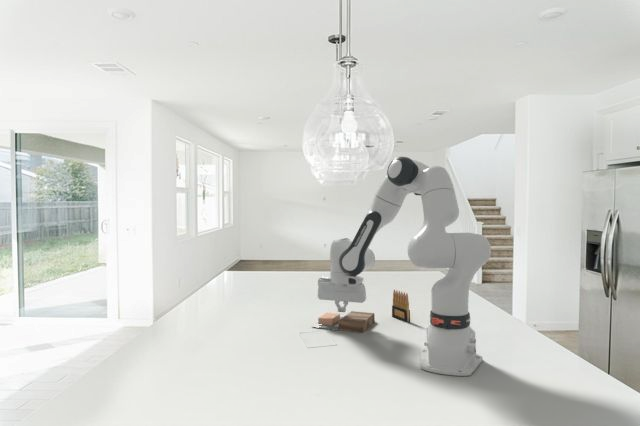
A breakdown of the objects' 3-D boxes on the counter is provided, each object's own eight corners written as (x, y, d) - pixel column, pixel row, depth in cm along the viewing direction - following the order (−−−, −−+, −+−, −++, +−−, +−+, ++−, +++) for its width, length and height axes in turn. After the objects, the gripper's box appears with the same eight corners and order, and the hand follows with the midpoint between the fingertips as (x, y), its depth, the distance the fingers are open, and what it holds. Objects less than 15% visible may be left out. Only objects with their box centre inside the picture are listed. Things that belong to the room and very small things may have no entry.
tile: (318, 317, 169) (318, 323, 169) (331, 319, 167) (332, 325, 167) (326, 312, 177) (326, 318, 177) (339, 313, 175) (339, 319, 175)
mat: (337, 330, 161) (337, 329, 161) (311, 327, 165) (311, 326, 165) (352, 318, 177) (352, 317, 177) (328, 316, 182) (328, 315, 182)
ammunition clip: (410, 322, 171) (410, 293, 170) (406, 322, 170) (406, 293, 170) (395, 316, 180) (395, 288, 180) (391, 316, 180) (391, 289, 179)
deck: (362, 332, 158) (362, 323, 158) (338, 329, 162) (338, 320, 162) (374, 321, 172) (374, 313, 172) (351, 319, 176) (351, 311, 176)
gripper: (314, 277, 171) (315, 311, 171) (362, 280, 163) (362, 315, 163) (320, 275, 177) (321, 307, 177) (367, 278, 168) (367, 311, 169)
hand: (341, 311), depth 170 cm, fingers closed
